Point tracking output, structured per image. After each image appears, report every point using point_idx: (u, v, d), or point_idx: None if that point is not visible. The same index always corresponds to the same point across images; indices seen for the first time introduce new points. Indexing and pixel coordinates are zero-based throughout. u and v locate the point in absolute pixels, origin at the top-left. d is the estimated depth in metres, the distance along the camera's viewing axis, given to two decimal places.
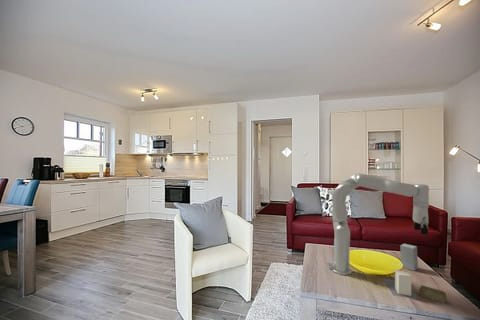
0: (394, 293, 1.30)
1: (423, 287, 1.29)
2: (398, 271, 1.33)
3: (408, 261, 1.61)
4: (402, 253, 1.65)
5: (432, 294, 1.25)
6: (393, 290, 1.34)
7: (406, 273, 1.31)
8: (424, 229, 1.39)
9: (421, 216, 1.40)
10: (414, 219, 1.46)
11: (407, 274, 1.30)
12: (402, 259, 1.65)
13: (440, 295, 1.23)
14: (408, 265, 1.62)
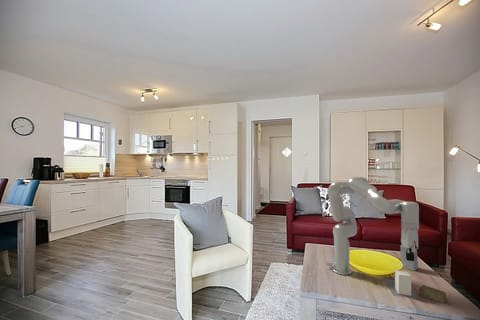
0: (394, 293, 1.30)
1: (423, 286, 1.30)
2: (398, 271, 1.33)
3: (408, 261, 1.61)
4: (402, 253, 1.65)
5: (431, 293, 1.25)
6: (393, 290, 1.34)
7: (406, 273, 1.31)
8: (410, 255, 1.22)
9: (410, 240, 1.19)
10: (402, 242, 1.25)
11: (407, 274, 1.30)
12: (402, 259, 1.65)
13: (439, 295, 1.23)
14: (408, 265, 1.62)
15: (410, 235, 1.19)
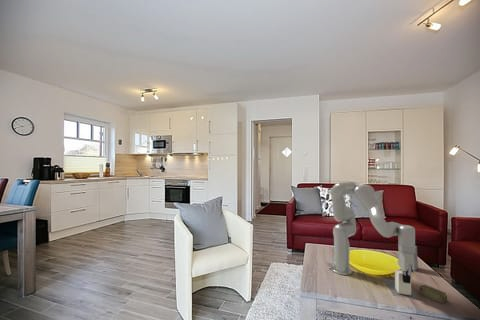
0: (394, 293, 1.30)
1: (424, 286, 1.31)
2: (398, 270, 1.34)
3: None
4: None
5: (430, 293, 1.26)
6: (393, 290, 1.34)
7: None
8: (406, 277, 1.26)
9: (406, 263, 1.23)
10: (399, 264, 1.29)
11: None
12: None
13: (437, 294, 1.23)
14: None
15: (406, 259, 1.23)
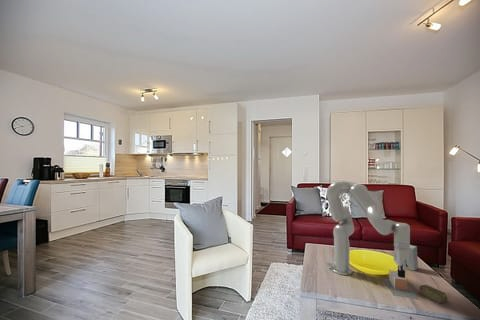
0: (394, 293, 1.30)
1: (424, 285, 1.31)
2: None
3: None
4: None
5: (429, 292, 1.26)
6: (393, 290, 1.34)
7: None
8: (401, 272, 1.33)
9: (401, 259, 1.30)
10: (395, 260, 1.36)
11: None
12: None
13: (436, 294, 1.23)
14: None
15: (401, 254, 1.30)
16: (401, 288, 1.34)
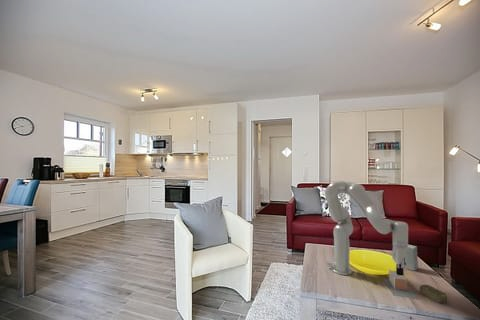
0: (394, 293, 1.30)
1: (425, 285, 1.31)
2: None
3: (408, 261, 1.61)
4: None
5: (429, 292, 1.27)
6: (393, 290, 1.34)
7: None
8: (400, 270, 1.35)
9: (400, 257, 1.32)
10: (393, 258, 1.39)
11: None
12: None
13: (435, 294, 1.24)
14: (408, 265, 1.62)
15: (400, 252, 1.32)
16: (401, 288, 1.34)
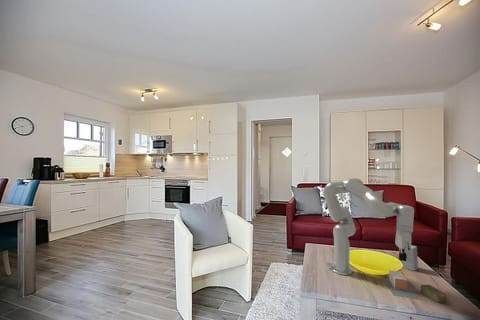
0: (394, 293, 1.30)
1: (426, 285, 1.31)
2: None
3: (408, 261, 1.61)
4: None
5: (428, 291, 1.27)
6: (393, 290, 1.34)
7: None
8: (403, 255, 1.29)
9: (403, 241, 1.26)
10: (396, 243, 1.33)
11: None
12: None
13: (434, 294, 1.24)
14: (408, 265, 1.62)
15: (404, 237, 1.26)
16: (401, 288, 1.34)
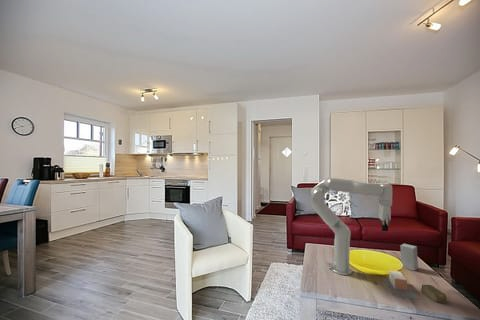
0: (394, 293, 1.30)
1: (427, 285, 1.32)
2: None
3: (408, 261, 1.61)
4: (402, 253, 1.65)
5: (428, 291, 1.28)
6: (393, 290, 1.34)
7: None
8: (385, 226, 1.52)
9: (384, 214, 1.49)
10: (379, 217, 1.56)
11: None
12: (402, 259, 1.65)
13: (432, 293, 1.24)
14: (408, 265, 1.62)
15: (384, 210, 1.50)
16: (401, 288, 1.34)
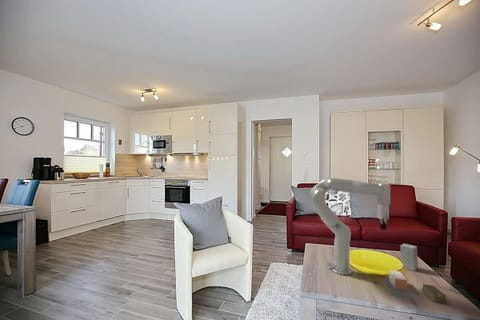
0: (394, 293, 1.30)
1: (428, 285, 1.31)
2: None
3: (408, 261, 1.61)
4: (402, 253, 1.65)
5: (428, 290, 1.28)
6: (393, 290, 1.34)
7: None
8: (383, 225, 1.55)
9: (382, 212, 1.52)
10: (378, 215, 1.58)
11: None
12: (402, 259, 1.65)
13: (431, 293, 1.25)
14: (408, 265, 1.62)
15: (383, 209, 1.52)
16: (401, 288, 1.34)
